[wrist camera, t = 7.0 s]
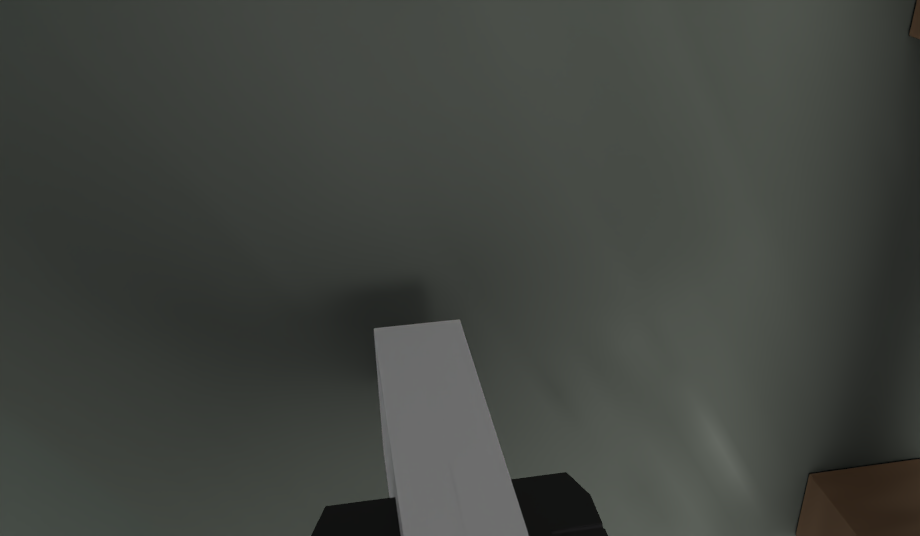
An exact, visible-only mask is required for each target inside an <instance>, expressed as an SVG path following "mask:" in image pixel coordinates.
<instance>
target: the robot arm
mask: <svg viewBox="0 0 920 536" xmlns="http://www.w3.org/2000/svg"><path fill="white" fill-rule="evenodd" d="M374 340H375V353H376V365H377V377H378V389H379V402H380V414H381V426H382V439H383V451H384V459H385V467H386V474H387V482H388V489H389V497H390V498H385V499H378V500H370V501H363V502H355V503H348V504H340V505H332V506H326V507H325V509H324V511H323V513H322V515H321V517H320V519H319V521H318V523H317V525H316V527H315V529H314V531H313V533H312V535H311V536H608V535H607V533H606V531H605V529H603V526H602V521H601V519H600V517H599V514H598V512H597V510H596V507H595V505H594V503H593V500H592V498H591V496H590V494H589V493H588V492H587V491H585V490H584V489H583V488H582V487H581V486H580V485H579V484H578V483H577V482H576V481H575V480H574V479H573V478H572V477H571V476H570V475H568V474H567V473H566V472H565V473H557V474H550V475H542V476H534V477H527V478H519V479H512V480H511V478H510V475H509V472H508V469H507V466H506V462H505V459H504V456H503V453H502V450H501V447H500V444H499V441H498V437H497V434H496V431H495V428H494V425H493V422H492V419H491V415H490V412H489V409H488V406H487V403H486V400H485V397H484V394H483V390H482V387H481V384H480V381H479V378H478V375H477V372H476V368H475V365H474V362H473V359H472V356H471V353H470V350H469V347H468V343H467V340H466V337H465V334H464V331H463V328H462V325H461V321H460V319H457V320H448V321H438V322H429V323H419V324H410V325H400V326H391V327H381V328H374Z"/></svg>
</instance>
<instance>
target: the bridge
mask: <svg viewBox="0 0 920 536" xmlns="http://www.w3.org/2000/svg"><path fill="white" fill-rule="evenodd" d="M909 36H912V37H915V38H917V39H920V0H917V3H916V7H915V12H914V16H913V21H912V25H911V29H910V34H909ZM796 536H920V459H915V460H908V461H900V462H893V463H886V464H879V465H871V466H864V467H857V468H850V469H843V470H835V471H828V472H821V473H814V474H809V478H808V483H807V487H806V492H805V496H804V500H803V505H802V509H801V514H800V518H799V522H798V527H797V531H796Z"/></svg>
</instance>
